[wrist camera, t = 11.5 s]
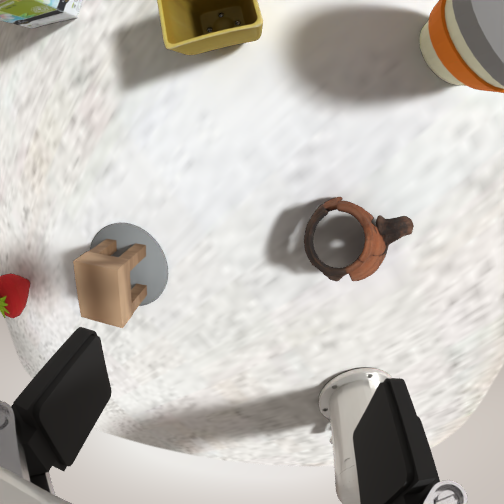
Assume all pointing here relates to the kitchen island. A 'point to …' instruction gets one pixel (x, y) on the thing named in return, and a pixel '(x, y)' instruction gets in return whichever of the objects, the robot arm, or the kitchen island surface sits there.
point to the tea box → (38, 11)
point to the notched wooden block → (108, 283)
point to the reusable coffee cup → (466, 43)
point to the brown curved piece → (374, 239)
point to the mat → (149, 268)
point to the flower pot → (208, 24)
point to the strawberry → (13, 294)
